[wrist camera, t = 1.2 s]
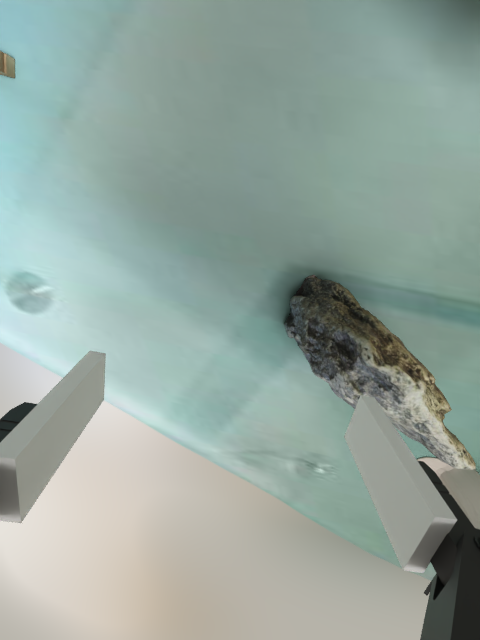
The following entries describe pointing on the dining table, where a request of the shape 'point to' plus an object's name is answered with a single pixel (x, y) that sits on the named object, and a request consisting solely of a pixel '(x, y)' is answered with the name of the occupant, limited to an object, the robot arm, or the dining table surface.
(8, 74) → the wooden rail rack
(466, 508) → the candle
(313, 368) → the stone block
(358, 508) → the dining table surface
